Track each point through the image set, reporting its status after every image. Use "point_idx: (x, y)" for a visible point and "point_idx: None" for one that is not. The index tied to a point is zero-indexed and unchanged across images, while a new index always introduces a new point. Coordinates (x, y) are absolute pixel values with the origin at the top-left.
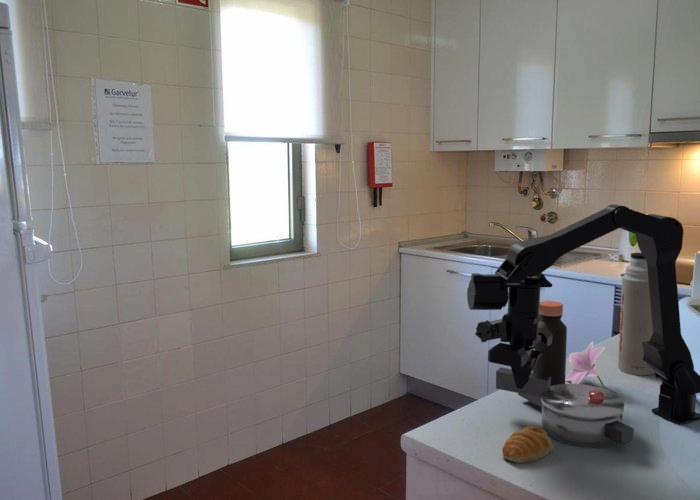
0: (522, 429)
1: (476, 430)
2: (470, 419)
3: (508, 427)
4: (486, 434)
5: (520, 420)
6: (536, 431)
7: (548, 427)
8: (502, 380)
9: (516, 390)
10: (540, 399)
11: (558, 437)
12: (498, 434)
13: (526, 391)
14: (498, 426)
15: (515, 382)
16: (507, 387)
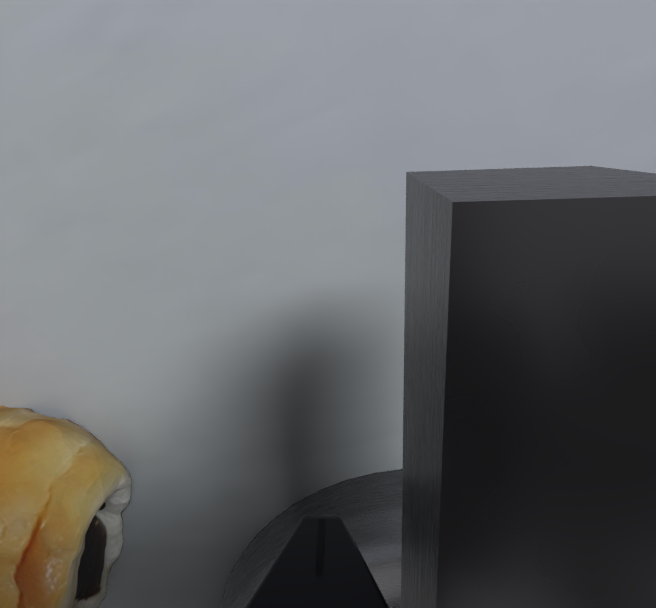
0: (15, 513)
1: (43, 141)
2: (180, 10)
3: (226, 316)
4: (38, 229)
5: (373, 349)
6: (22, 600)
7: (247, 574)
8: (419, 300)
9: (405, 437)
10: None
11: (222, 602)
12: (92, 296)
13: (404, 543)
14: (199, 254)
15: (270, 572)
16: (411, 338)
